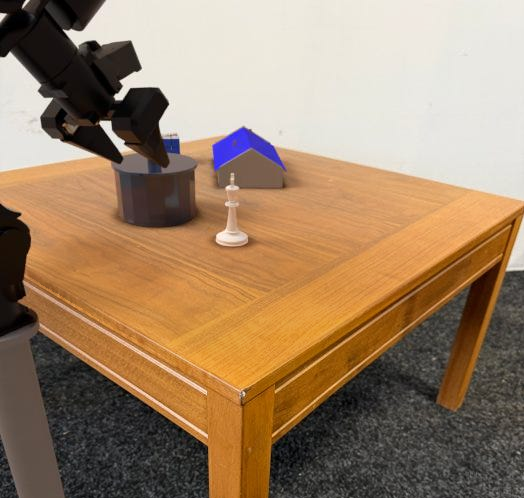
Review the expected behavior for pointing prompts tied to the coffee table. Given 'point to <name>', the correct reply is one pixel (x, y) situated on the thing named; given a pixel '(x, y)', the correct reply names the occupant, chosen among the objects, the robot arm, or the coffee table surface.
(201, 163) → the coffee table surface
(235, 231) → the chess piece
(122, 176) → the pot
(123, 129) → the robot arm
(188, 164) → the pot lid
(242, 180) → the toy house
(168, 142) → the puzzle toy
